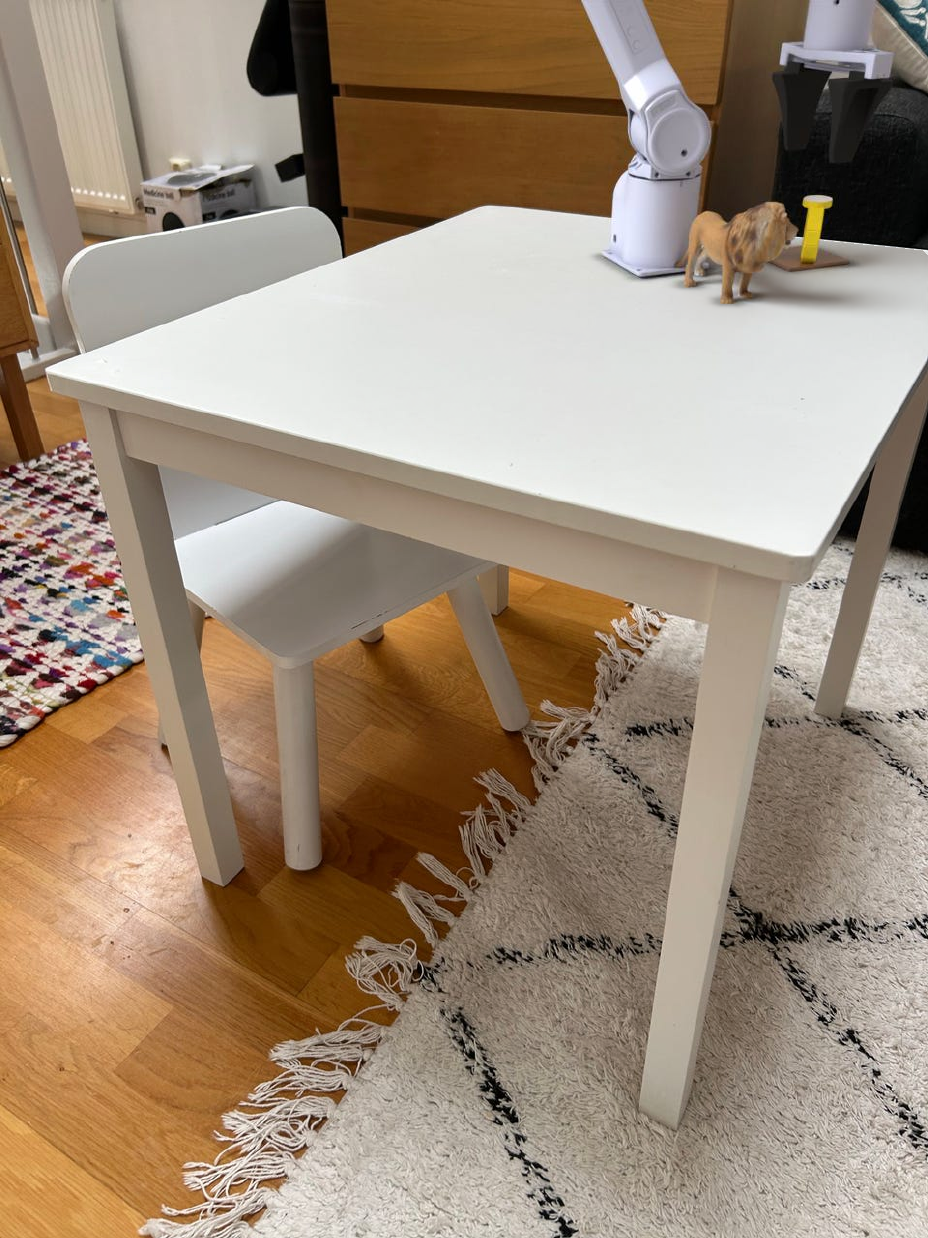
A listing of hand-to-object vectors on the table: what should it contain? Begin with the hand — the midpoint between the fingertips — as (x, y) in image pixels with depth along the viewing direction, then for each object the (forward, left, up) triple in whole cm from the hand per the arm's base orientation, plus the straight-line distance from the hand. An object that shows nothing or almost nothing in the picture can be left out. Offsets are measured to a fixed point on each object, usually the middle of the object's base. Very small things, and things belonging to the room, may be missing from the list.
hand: (817, 155), depth 95 cm
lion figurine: (+7, -13, -10) cm, 18 cm away
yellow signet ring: (+1, 0, -10) cm, 10 cm away
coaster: (0, 0, -10) cm, 10 cm away
